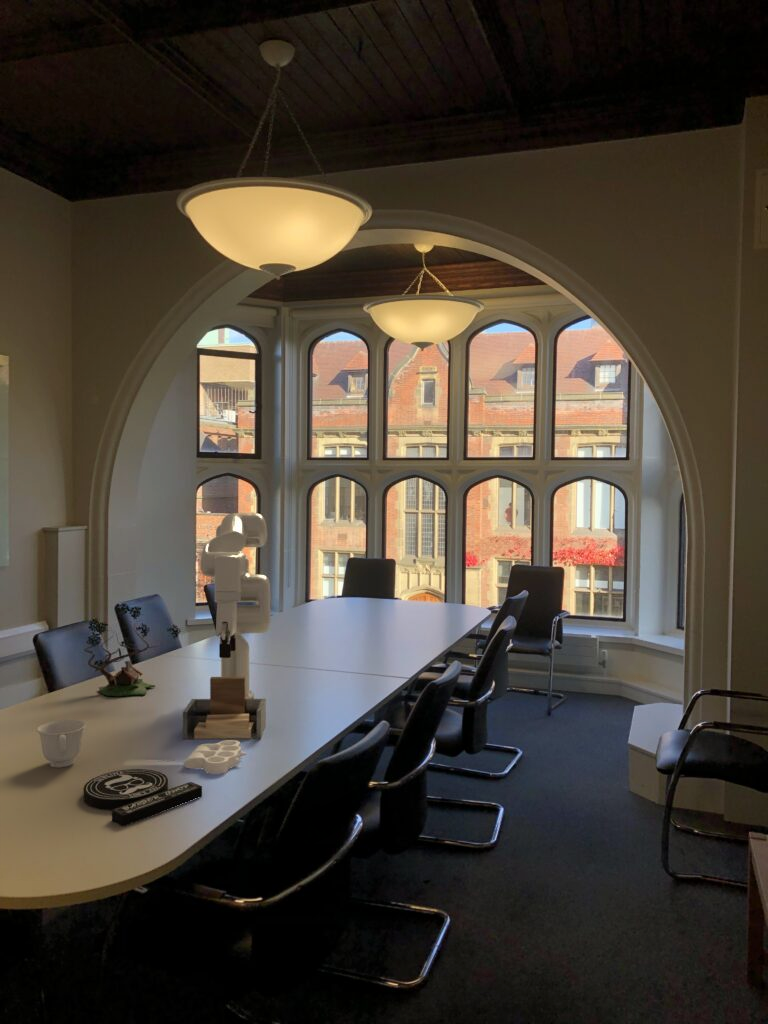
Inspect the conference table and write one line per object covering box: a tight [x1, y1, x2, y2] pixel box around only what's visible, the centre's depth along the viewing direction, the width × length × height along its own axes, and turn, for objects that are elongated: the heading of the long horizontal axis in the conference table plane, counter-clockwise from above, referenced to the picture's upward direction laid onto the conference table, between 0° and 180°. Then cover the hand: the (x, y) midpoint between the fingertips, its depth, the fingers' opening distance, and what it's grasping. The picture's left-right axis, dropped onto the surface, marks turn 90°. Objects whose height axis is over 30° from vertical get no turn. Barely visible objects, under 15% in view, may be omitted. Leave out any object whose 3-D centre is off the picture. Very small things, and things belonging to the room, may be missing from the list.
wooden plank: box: [209, 676, 245, 715], centre depth 240 cm, size 2×10×15 cm, turn 92°
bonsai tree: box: [83, 602, 181, 698], centre depth 280 cm, size 35×24×32 cm
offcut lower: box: [194, 722, 254, 738], centre depth 234 cm, size 7×16×2 cm, turn 92°
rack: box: [182, 698, 267, 741], centre depth 236 cm, size 13×22×9 cm, turn 92°
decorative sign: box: [83, 768, 203, 827], centre depth 192 cm, size 22×3×25 cm
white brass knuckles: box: [183, 739, 247, 775], centre depth 215 cm, size 3×18×15 cm
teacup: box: [36, 719, 87, 768], centre depth 212 cm, size 12×15×10 cm
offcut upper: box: [206, 714, 249, 730], centre depth 234 cm, size 6×12×2 cm, turn 98°
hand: (227, 654), depth 239 cm, fingers open, 9 cm apart
